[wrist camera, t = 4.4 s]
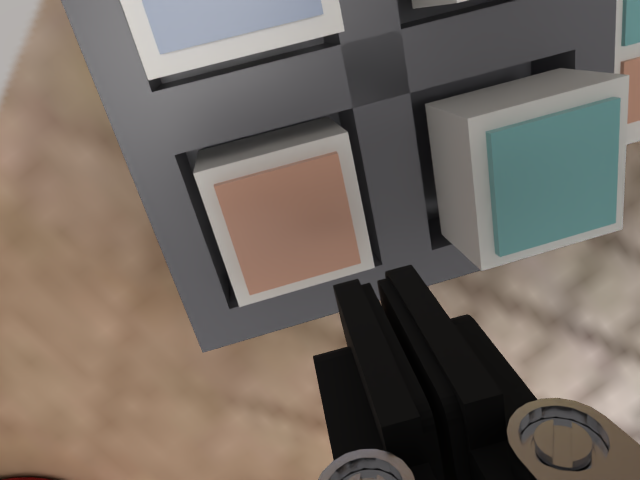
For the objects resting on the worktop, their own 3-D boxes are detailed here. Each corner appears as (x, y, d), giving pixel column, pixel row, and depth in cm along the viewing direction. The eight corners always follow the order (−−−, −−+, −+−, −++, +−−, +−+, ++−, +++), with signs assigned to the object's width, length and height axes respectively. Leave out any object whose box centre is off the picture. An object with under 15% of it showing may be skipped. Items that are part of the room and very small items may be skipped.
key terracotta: (328, 116, 18) (349, 133, 15) (353, 234, 20) (377, 271, 17) (197, 150, 18) (192, 175, 15) (237, 267, 20) (239, 311, 17)
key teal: (560, 67, 17) (637, 76, 14) (561, 199, 19) (629, 232, 16) (424, 104, 17) (472, 120, 14) (441, 234, 19) (486, 275, 16)
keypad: (557, -275, 16) (627, -340, 13) (562, 208, 23) (609, 232, 20) (22, -164, 14) (-24, -210, 12) (205, 312, 21) (202, 352, 19)
